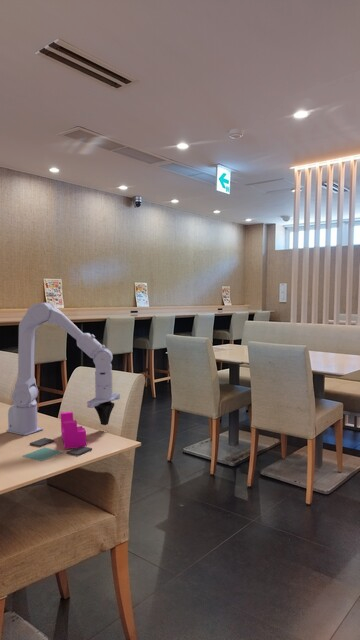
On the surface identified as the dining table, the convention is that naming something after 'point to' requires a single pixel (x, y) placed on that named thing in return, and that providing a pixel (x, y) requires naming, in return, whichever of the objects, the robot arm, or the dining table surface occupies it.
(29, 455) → the pad
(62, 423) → the toy block
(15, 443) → the dining table surface
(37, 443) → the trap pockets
